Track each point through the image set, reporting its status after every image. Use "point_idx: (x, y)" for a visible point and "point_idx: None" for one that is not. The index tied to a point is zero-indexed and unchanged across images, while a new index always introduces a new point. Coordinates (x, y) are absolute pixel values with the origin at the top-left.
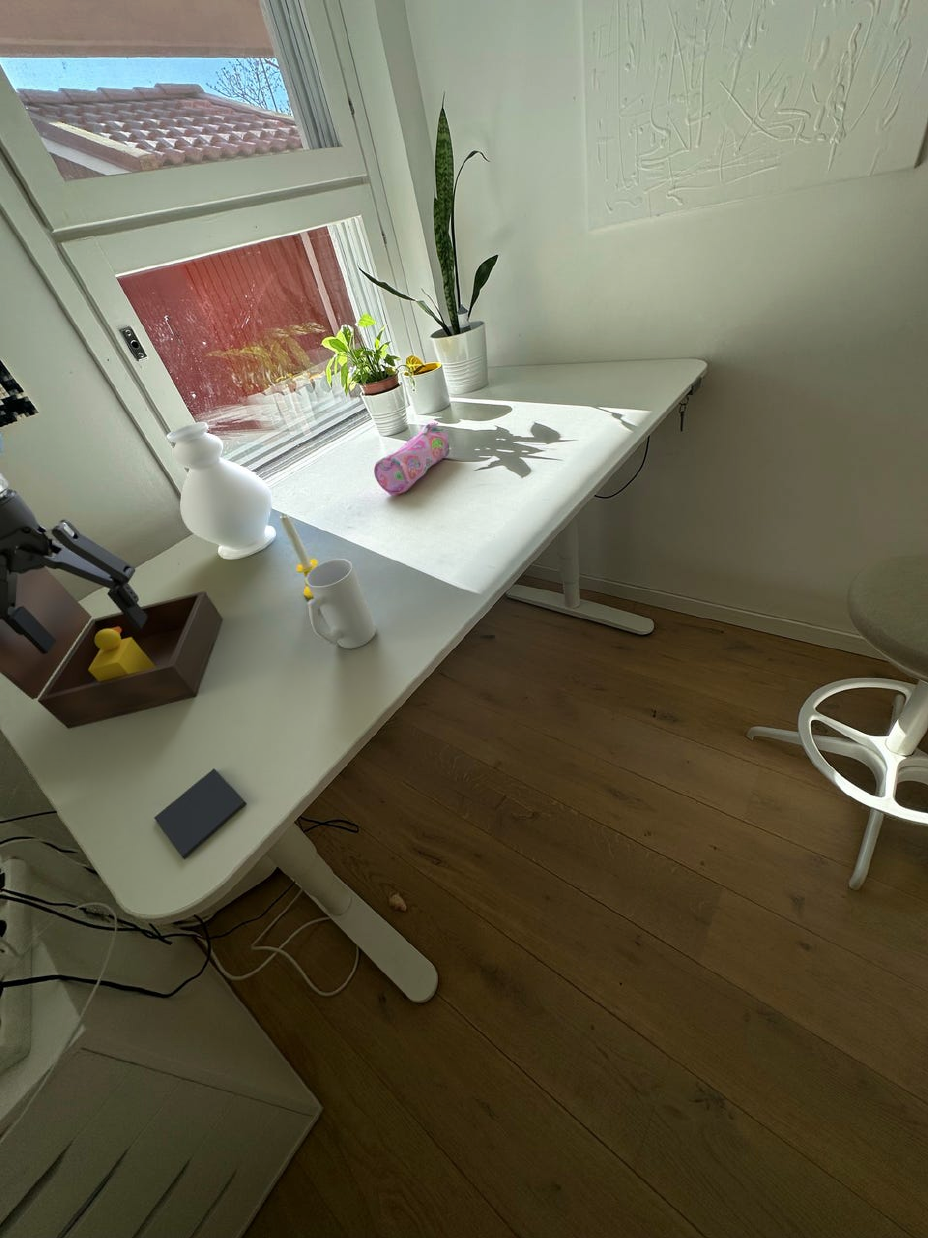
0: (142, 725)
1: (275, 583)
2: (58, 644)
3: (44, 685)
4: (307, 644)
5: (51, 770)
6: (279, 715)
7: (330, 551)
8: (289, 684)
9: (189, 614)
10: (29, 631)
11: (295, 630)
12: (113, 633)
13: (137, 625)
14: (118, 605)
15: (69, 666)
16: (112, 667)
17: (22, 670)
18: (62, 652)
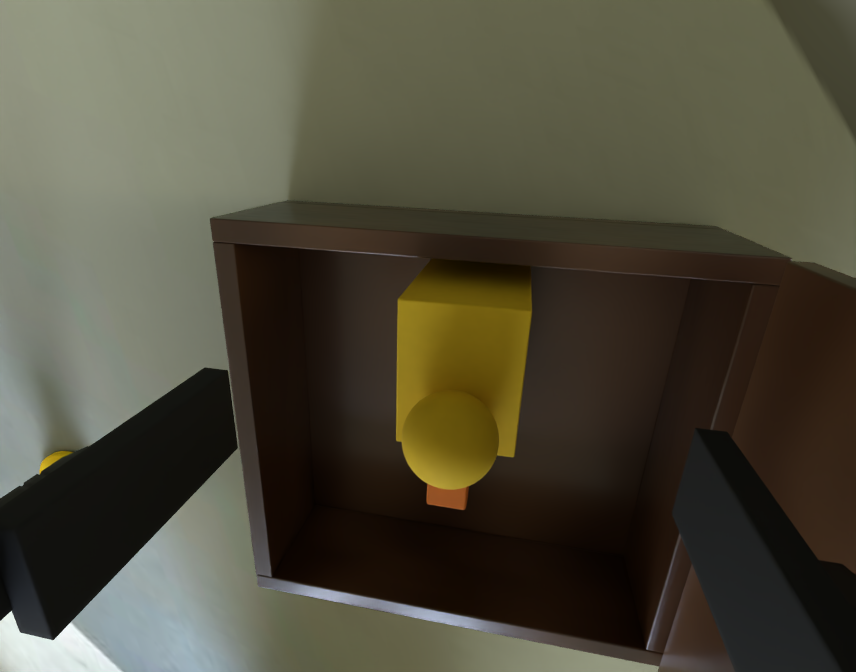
0: (432, 133)
1: (204, 567)
2: None
3: (766, 334)
4: (33, 281)
5: (737, 18)
6: (4, 5)
7: (99, 607)
8: (23, 134)
9: (355, 540)
10: (756, 552)
11: (85, 354)
12: (403, 445)
13: (195, 377)
14: (102, 457)
15: None
16: (436, 296)
17: (850, 370)
18: None
